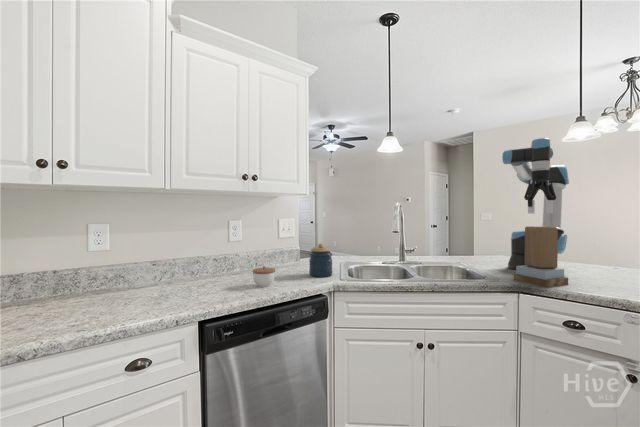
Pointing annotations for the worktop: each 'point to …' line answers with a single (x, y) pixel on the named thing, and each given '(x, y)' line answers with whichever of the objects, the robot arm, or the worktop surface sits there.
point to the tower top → (540, 272)
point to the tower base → (541, 281)
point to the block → (541, 247)
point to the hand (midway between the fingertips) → (540, 213)
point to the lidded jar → (263, 276)
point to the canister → (320, 261)
